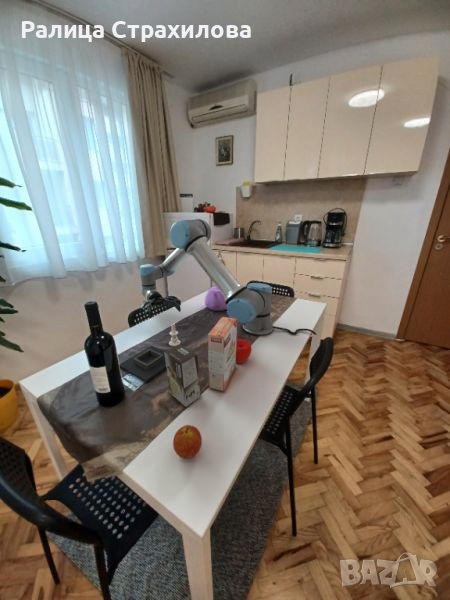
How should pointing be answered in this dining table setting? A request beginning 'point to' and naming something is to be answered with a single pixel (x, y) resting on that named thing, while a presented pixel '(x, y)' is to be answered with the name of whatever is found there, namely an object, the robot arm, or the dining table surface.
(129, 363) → the socket pad
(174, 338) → the white tall tiered piece
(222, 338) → the cracker box
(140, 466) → the dining table surface
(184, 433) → the fruit
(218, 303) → the teapot
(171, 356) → the coffee box
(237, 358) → the apple
